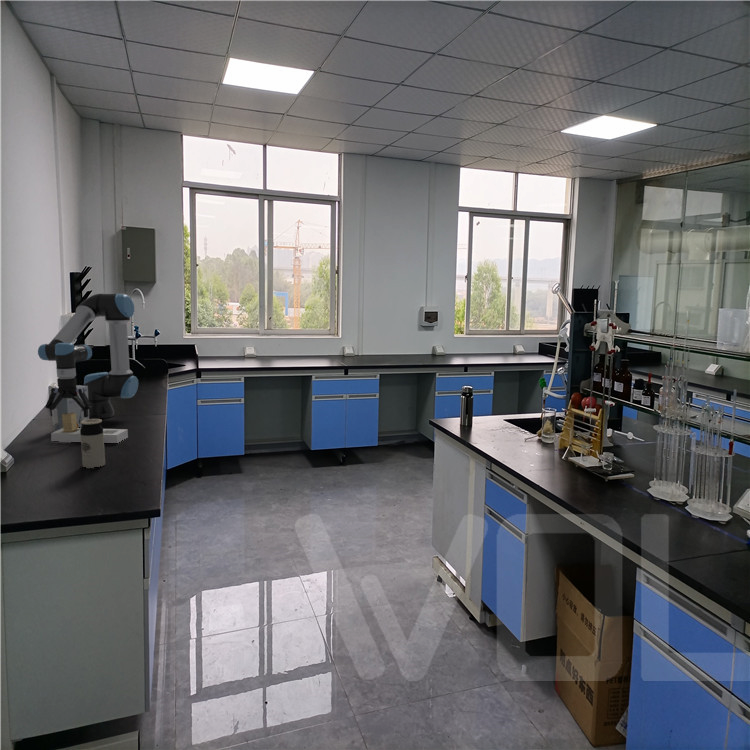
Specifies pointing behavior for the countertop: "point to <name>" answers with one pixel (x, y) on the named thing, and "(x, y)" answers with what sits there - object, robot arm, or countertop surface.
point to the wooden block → (69, 422)
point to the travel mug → (92, 443)
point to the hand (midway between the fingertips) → (70, 423)
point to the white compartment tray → (61, 436)
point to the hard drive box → (69, 408)
